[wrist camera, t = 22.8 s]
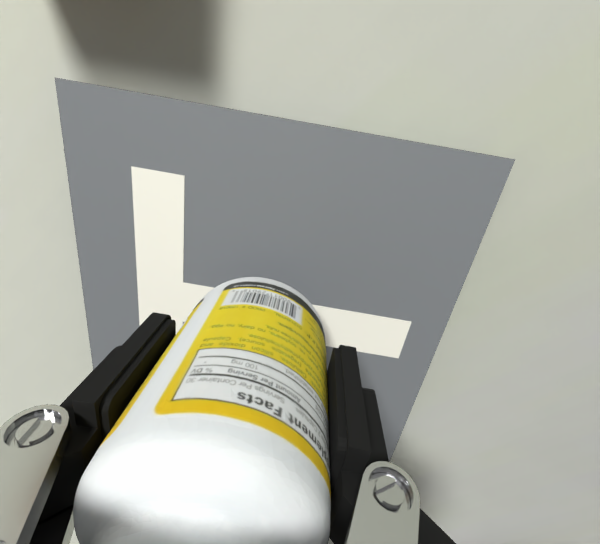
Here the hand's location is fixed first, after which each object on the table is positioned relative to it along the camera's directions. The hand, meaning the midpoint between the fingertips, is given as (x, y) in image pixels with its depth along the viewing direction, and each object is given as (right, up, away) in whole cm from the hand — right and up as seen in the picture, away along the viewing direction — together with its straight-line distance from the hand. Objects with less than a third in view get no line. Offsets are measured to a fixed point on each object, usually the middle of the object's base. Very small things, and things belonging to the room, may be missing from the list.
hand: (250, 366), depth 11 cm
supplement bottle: (0, +1, +2) cm, 2 cm away
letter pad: (0, +2, +4) cm, 4 cm away
